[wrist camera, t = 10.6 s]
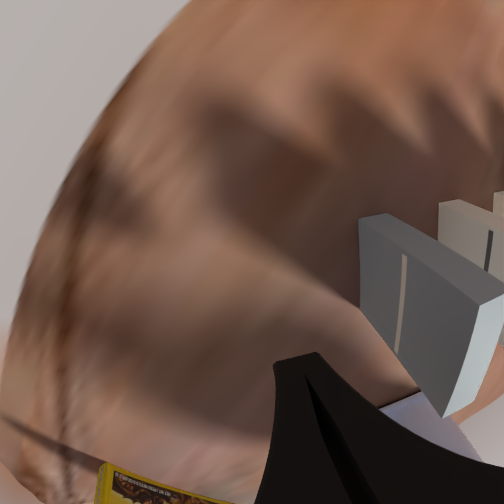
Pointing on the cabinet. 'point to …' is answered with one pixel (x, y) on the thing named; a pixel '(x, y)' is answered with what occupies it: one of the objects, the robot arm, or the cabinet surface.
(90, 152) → the cabinet surface
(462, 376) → the slate domino
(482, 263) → the ivory domino
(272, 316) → the cabinet surface
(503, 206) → the ivory domino
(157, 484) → the candy box
